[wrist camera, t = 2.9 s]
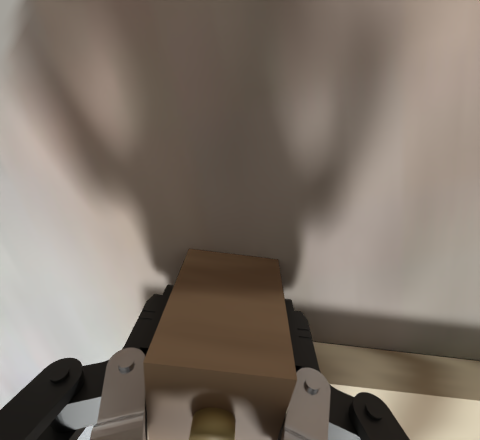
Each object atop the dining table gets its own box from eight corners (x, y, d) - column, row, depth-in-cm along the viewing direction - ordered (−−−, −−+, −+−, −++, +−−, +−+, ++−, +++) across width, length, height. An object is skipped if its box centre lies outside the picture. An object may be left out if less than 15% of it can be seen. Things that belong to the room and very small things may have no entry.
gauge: (188, 248, 13) (134, 383, 7) (278, 259, 13) (300, 402, 7) (183, 399, 18) (150, 547, 12) (245, 406, 18) (243, 556, 12)
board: (158, 435, 20) (147, 478, 18) (154, 323, 15) (137, 364, 13) (512, 473, 21) (544, 520, 18) (628, 378, 15) (692, 426, 13)
